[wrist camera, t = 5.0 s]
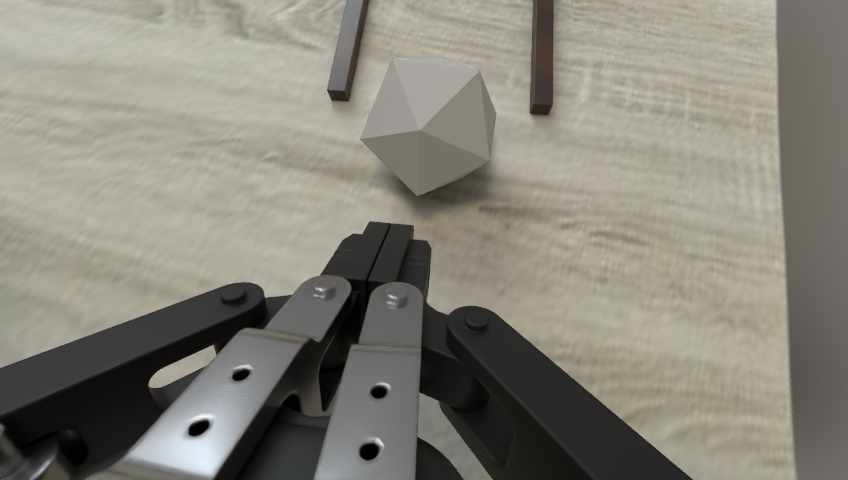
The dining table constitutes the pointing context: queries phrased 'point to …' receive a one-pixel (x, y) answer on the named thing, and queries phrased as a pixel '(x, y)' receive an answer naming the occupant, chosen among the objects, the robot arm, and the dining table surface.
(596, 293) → the dining table surface
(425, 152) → the die
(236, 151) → the dining table surface
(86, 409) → the robot arm
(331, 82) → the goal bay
